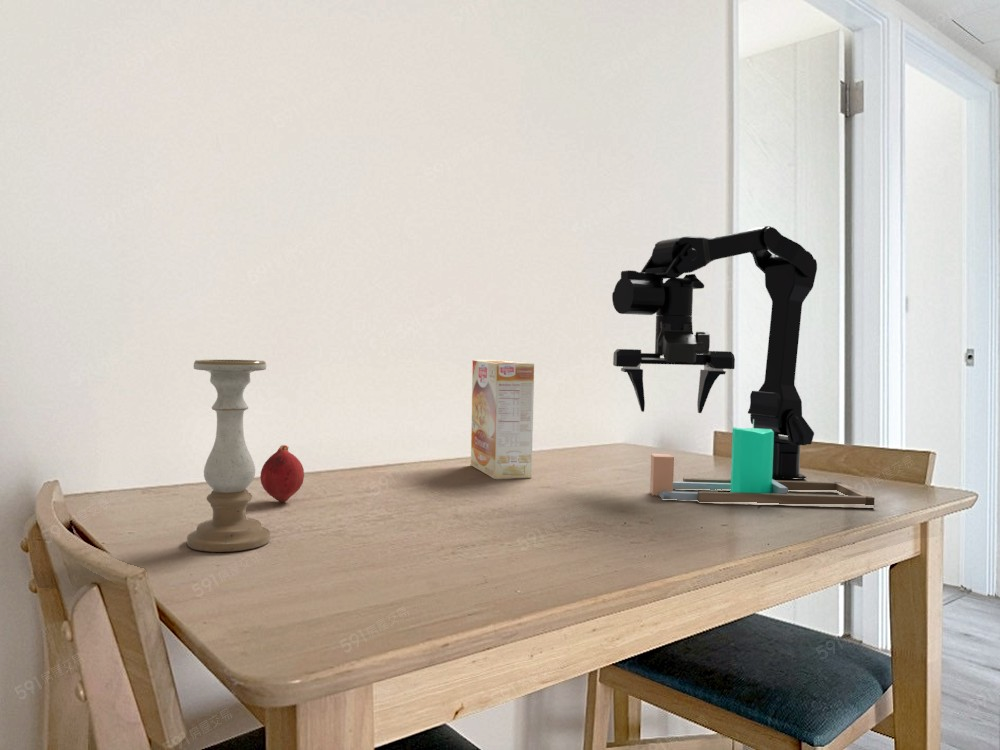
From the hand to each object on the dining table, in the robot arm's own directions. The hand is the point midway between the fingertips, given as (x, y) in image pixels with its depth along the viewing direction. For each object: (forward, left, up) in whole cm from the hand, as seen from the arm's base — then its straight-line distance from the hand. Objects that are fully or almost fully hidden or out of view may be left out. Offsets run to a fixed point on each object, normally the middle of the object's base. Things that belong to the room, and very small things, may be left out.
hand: (671, 412), depth 130 cm
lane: (+8, +14, -12) cm, 20 cm away
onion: (+22, -57, -12) cm, 62 cm away
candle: (+8, +11, -12) cm, 18 cm away
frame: (+8, +6, -12) cm, 15 cm away
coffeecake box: (-9, -28, -12) cm, 32 cm away
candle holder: (+44, -56, -12) cm, 72 cm away
